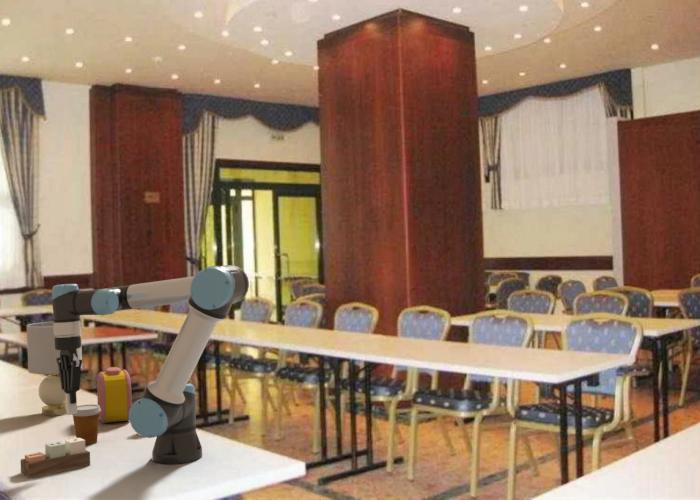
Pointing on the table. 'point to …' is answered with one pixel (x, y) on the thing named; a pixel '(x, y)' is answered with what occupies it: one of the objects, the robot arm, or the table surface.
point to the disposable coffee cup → (87, 423)
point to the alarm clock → (114, 395)
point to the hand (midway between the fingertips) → (71, 413)
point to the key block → (55, 464)
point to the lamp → (47, 366)
